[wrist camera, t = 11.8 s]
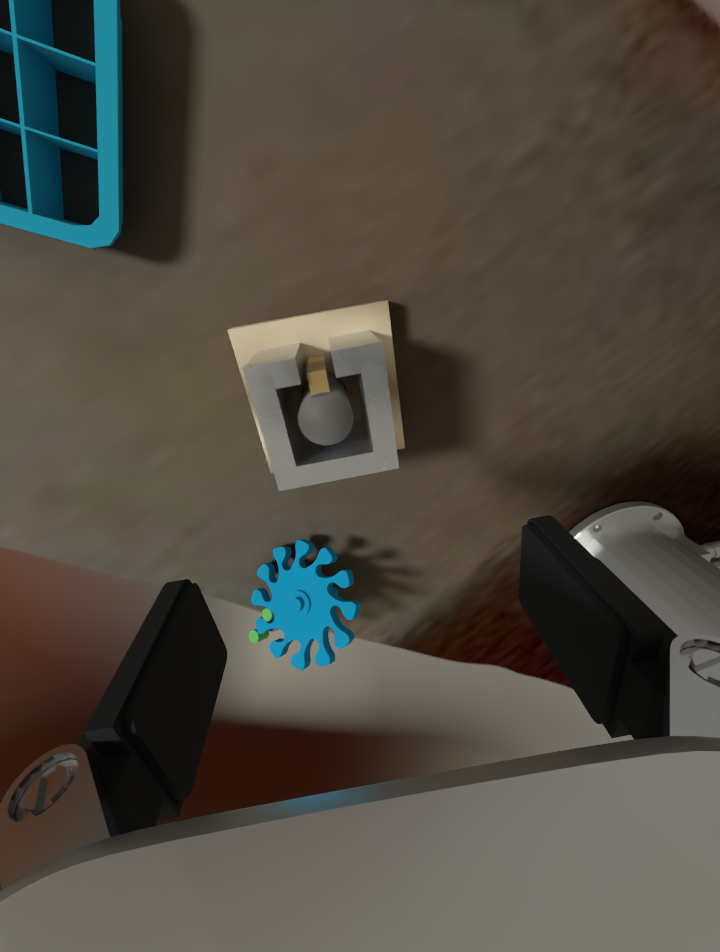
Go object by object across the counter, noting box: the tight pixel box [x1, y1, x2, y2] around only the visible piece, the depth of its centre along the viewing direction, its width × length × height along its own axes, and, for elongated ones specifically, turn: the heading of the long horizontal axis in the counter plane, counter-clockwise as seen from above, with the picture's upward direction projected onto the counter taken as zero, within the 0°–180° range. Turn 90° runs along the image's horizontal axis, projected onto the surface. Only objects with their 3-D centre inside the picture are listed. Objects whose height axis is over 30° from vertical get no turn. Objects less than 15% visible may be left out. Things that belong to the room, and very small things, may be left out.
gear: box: [249, 540, 361, 670], centre depth 32 cm, size 11×6×10 cm
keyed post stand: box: [228, 300, 405, 474], centre depth 24 cm, size 10×10×7 cm
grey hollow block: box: [243, 330, 399, 491], centre depth 23 cm, size 7×7×6 cm
